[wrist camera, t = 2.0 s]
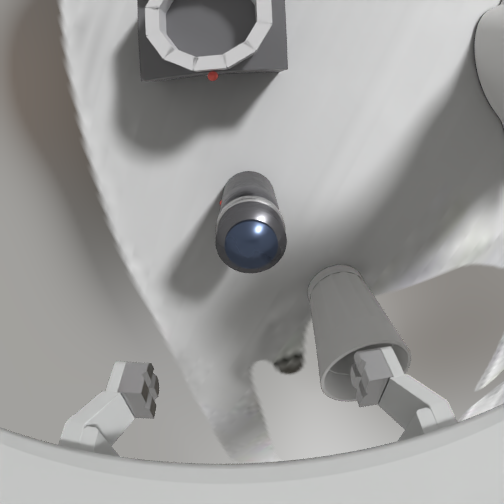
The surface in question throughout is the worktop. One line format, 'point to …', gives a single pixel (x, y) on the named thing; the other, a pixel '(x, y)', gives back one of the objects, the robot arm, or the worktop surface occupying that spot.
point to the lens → (250, 224)
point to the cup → (348, 328)
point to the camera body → (210, 38)
